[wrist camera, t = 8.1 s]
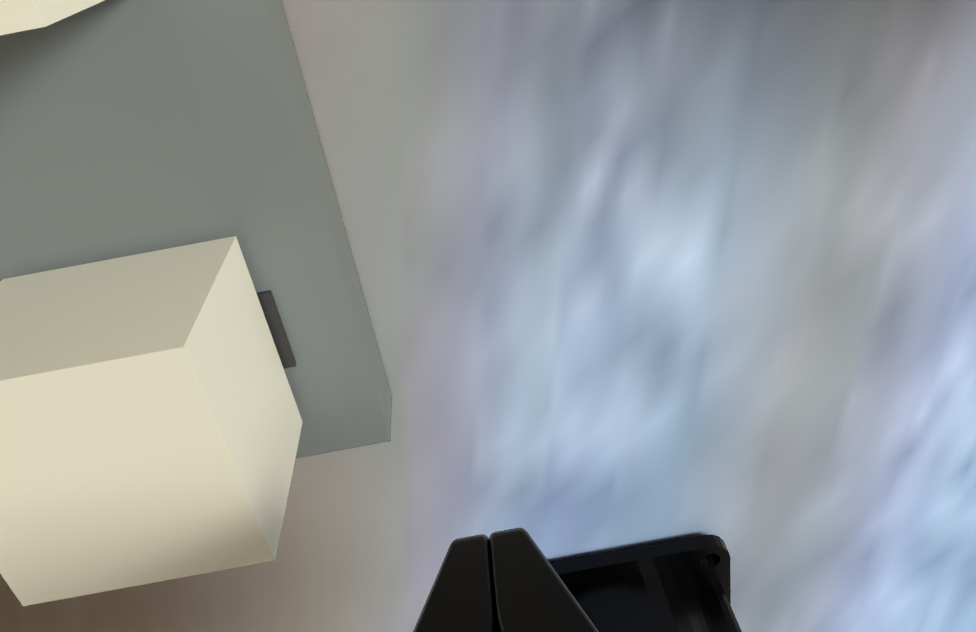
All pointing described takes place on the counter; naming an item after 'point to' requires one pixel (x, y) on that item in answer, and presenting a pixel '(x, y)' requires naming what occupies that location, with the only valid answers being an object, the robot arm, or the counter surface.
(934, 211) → the counter surface
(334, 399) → the switch bank
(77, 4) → the middle tab
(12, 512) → the cream cube
